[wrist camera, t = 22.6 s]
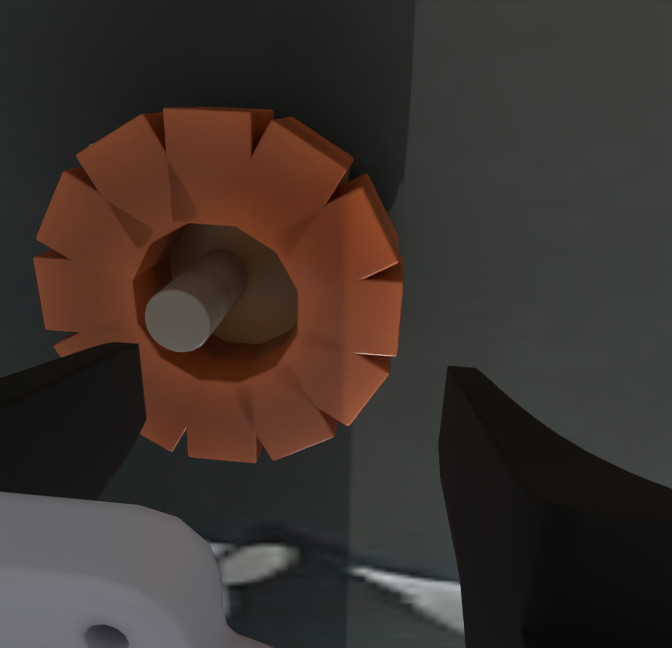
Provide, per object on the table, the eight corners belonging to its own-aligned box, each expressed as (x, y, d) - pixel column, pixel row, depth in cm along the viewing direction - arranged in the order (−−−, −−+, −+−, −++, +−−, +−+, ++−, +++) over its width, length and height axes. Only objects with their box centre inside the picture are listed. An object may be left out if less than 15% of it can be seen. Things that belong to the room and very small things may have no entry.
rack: (341, 379, 23) (325, 462, 18) (130, 363, 24) (54, 439, 18) (350, 151, 20) (333, 170, 14) (104, 141, 20) (2, 156, 15)
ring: (387, 426, 22) (386, 477, 19) (106, 402, 23) (64, 446, 20) (414, 116, 18) (418, 118, 15) (66, 100, 19) (5, 100, 16)
